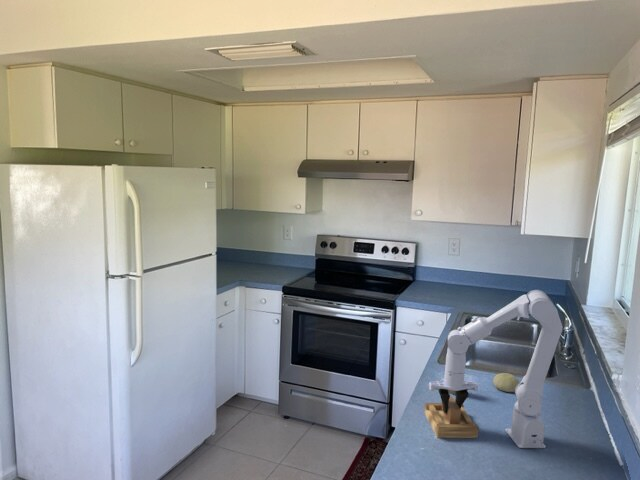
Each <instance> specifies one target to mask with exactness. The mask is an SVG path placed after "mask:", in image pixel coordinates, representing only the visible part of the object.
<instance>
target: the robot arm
mask: <svg viewBox="0 0 640 480" xmlns="http://www.w3.org/2000/svg"><path fill="white" fill-rule="evenodd" d="M530 316H531V317H532V318H534V320H536V321H538V322H539V324H540V325H541V330H540V333H539V336H538V338H537V342H536V345H535V347H534V351H533V354H532V356H531V360H530V362H529V365H528V368H527V371H526V374H525V375H524V376H523V377H522V379H521V381H520V384H519V385H517V387H516V389H515V391H514V393H515V397H516V398H517V399H516V400H517V401H516V402H515V403H514V404H513V409H512V410H513V411H512V421H511V426H510V427H511V428H505V432H506V433H507V434H508V436H509V437H510V439H512V441H513V442H514V444H515V445H516V446H517V447H518V448H519V449H546V445H545V444H544V440H545V439H544V438H545V433H546V432H545V431H546V427H545V425H544V422H543V421H542V419H541V412H542V409H543V402H542V399H543V395H544V383H545V380H546V378H547V375H548V373H549V369H550V366H551V363H552V361H553V358H554V355H555V351H556V349H557V346H558V344H559V341H560V338H561V335H562V332H563V328H564V327H563V324H562V321H561V319H560V315H559V311H558V309H557V307H556V306H555V304H554V303H553V301H552V300H551V298H550V297H549V296H548V295H547V293H545V292H544V291H542V290H540V289H534V290H530V291H528V292H527V294H523V295H520V296H519V297H518V298H516V299H515V300H513V301H512V302H510V303H508V304H507V305H506V306H504V307H502V308H501V309H499V310H497V311H496V312H494V313H493V314H491V315H490V316H488V317H481V316H480V317H477V318H476V317H473V318H471V321H470V322H469V323H467V324H465V325H463V326H462V327H461V326H459V327H457V329H453V330H451V331H450V332H449V333H448V335H447V337H446V338H447V348H446V349H447V350H446V352H447V353H446V356H445V369H444V379H443V380H436V381H429V382H428V383H429V384H428V389H429V390H430V392H431V391H432V392H434V391H435V390H437V391H438V393H439V396H440V399H441V403H442V405H443V411H444V413H447V411H448V402H449V398H450V397H451V395H450V393H449V391H448V390H455V391H456V395H455V402H456V403H457V405H458V406H459V408H460V409H461V407H462V405H464V403H465V401H466V400H467V399H468V398H469V395H470V393H469V391H474V392H478V391H479V384H478V383H477V382H476V381H475V382H473V381H468V380H467V381H466V380H465V374H466V373H465V371H466V360H467V355H466V354H467V353H466V352H468V349H469V346H472V345H474V344H476V343H478V342H479V341H481V340H484V339H485V338H487V337H489V336H491V334H492V331H493V329H494V328H496V327H499V326H500V325H503V324H505V323H507V322H508V321H511V320H513V319H515V318H516V317H520V318H526V319H530Z"/></svg>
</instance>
